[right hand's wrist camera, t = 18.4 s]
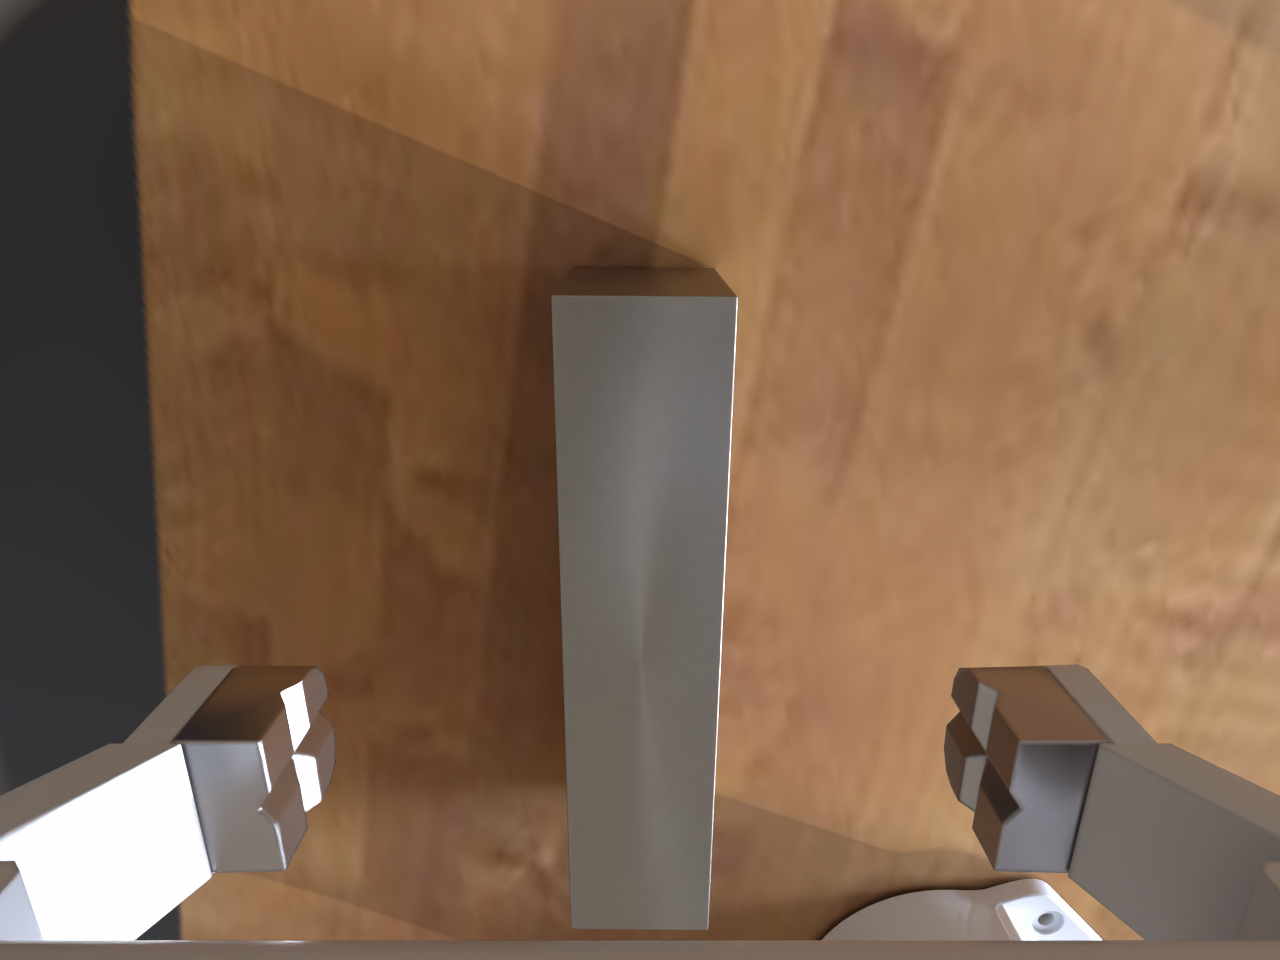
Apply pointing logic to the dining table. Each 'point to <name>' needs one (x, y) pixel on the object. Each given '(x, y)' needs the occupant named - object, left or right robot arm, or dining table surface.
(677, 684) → the bar
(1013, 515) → the dining table surface
